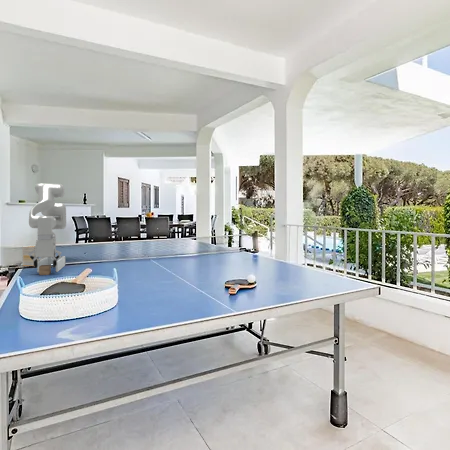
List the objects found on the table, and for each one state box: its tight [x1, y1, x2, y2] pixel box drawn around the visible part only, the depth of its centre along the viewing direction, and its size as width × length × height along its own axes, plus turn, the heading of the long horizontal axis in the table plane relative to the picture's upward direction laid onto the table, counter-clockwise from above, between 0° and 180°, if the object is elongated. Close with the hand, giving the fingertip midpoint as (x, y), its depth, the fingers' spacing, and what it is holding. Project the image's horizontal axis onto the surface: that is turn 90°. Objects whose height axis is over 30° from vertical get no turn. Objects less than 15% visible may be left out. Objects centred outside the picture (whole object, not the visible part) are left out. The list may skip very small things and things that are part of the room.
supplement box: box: [21, 245, 40, 267], centre depth 222 cm, size 8×5×13 cm, turn 84°
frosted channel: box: [36, 255, 66, 274], centre depth 216 cm, size 24×11×6 cm, turn 15°
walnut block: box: [38, 265, 52, 276], centre depth 199 cm, size 5×5×5 cm
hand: (45, 267), depth 199 cm, fingers open, 9 cm apart
